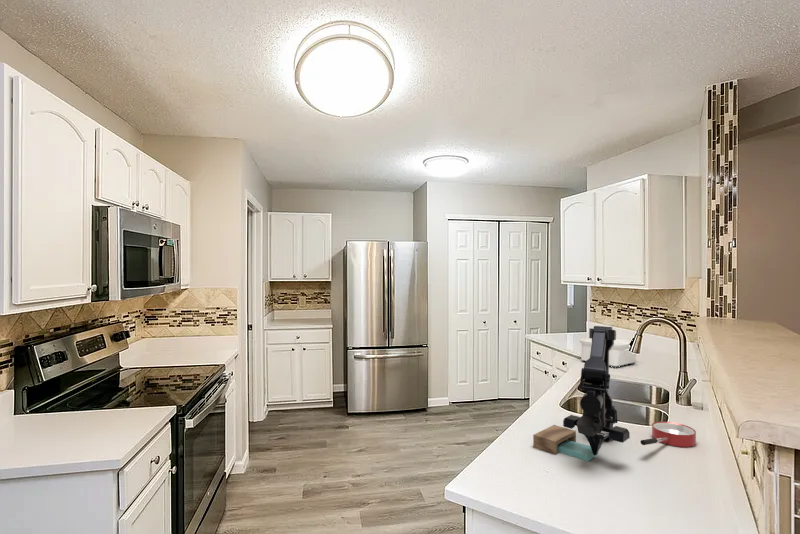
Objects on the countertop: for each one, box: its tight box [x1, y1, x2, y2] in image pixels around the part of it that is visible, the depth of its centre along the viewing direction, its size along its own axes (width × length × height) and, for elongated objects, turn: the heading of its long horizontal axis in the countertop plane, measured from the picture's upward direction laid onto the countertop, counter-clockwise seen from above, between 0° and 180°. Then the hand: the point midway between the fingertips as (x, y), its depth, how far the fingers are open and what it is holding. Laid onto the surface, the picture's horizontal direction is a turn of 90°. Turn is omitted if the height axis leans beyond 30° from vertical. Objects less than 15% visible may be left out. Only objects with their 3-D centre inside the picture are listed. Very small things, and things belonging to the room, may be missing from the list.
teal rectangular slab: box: [557, 440, 599, 462], centre depth 140 cm, size 10×8×2 cm
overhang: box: [532, 424, 577, 456], centre depth 146 cm, size 8×14×4 cm, turn 132°
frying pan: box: [640, 421, 697, 448], centre depth 144 cm, size 32×13×6 cm, turn 135°
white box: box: [579, 337, 637, 368], centre depth 279 cm, size 34×29×15 cm
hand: (595, 454), depth 136 cm, fingers closed
